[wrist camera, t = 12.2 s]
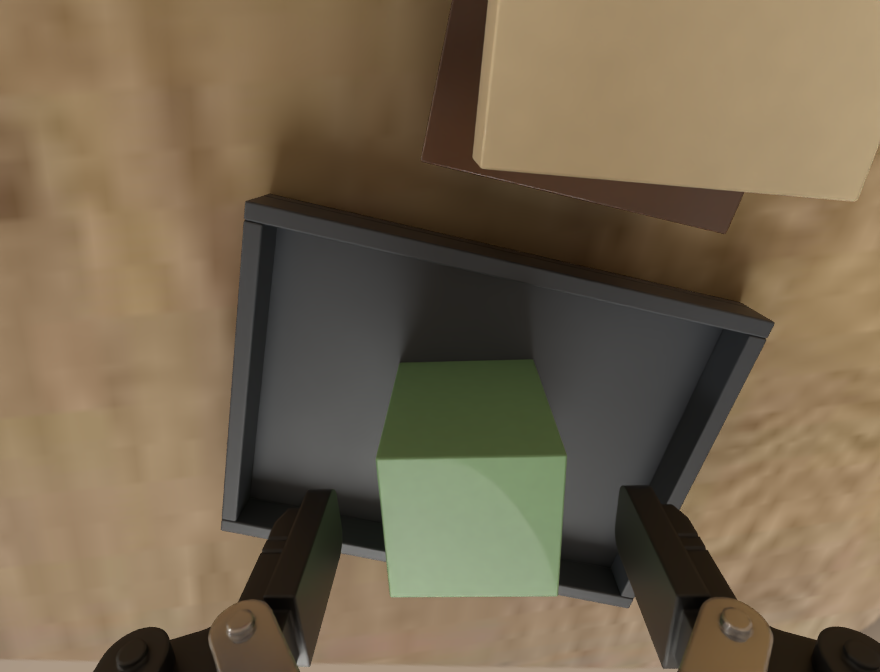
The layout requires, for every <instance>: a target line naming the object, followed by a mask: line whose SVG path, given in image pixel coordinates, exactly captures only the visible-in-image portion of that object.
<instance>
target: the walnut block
mask: <svg viewBox="0 0 880 672" xmlns="http://www.w3.org/2000/svg"><path fill="white" fill-rule="evenodd" d="M487 6H488V0H452V3H451V9H450V14H449V19H448V24H447V29H446V34H445V39H444V44H443V49H442V54H441V59H440V64H439V69H438V74H437V79H436V84H435V89H434V94H433V99H432V104H431V110H430V115H429V120H428V125H427V130H426V135H425V140H424V145H423V150H422V155H421V161H422V162H425V163H429V164H433V165H437V166H442V167H446V168H450V169H454V170H458V171H463V172H467V173H471V174H475V175H479V176H483V177H488V178H492V179H496V180H500V181H504V182H509V183H513V184H517V185H521V186H525V187H530V188H534V189H538V190H542V191H546V192H550V193H555V194H559V195H563V196H567V197H571V198H576V199H580V200H584V201H588V202H592V203H596V204H601V205H605V206H609V207H613V208H617V209H622V210H626V211H630V212H634V213H638V214H643V215H647V216H651V217H655V218H659V219H663V220H668V221H672V222H676V223H680V224H684V225H689V226H693V227H697V228H701V229H705V230H710V231H714V232H718V233H722V234H726V233H727V230H728V228H729V226H730V224H731V221H732V219H733V217H734V215H735V212H736V210H737V208H738V205H739V203H740V201H741V199H742V196H743V194H744V192H738V191H727V190H716V189H704V188H693V187H682V186H670V185H659V184H647V183H636V182H625V181H613V180H602V179H590V178H579V177H568V176H556V175H545V174H533V173H522V172H511V171H499V170H488V169H482V168H480V166H479V165H478V164H477V163H476V162H475V161H474V159H473V157H472V156H473V146H474V136H475V126H476V116H477V106H478V96H479V86H480V76H481V66H482V56H483V46H484V36H485V26H486V16H487Z"/></svg>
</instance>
